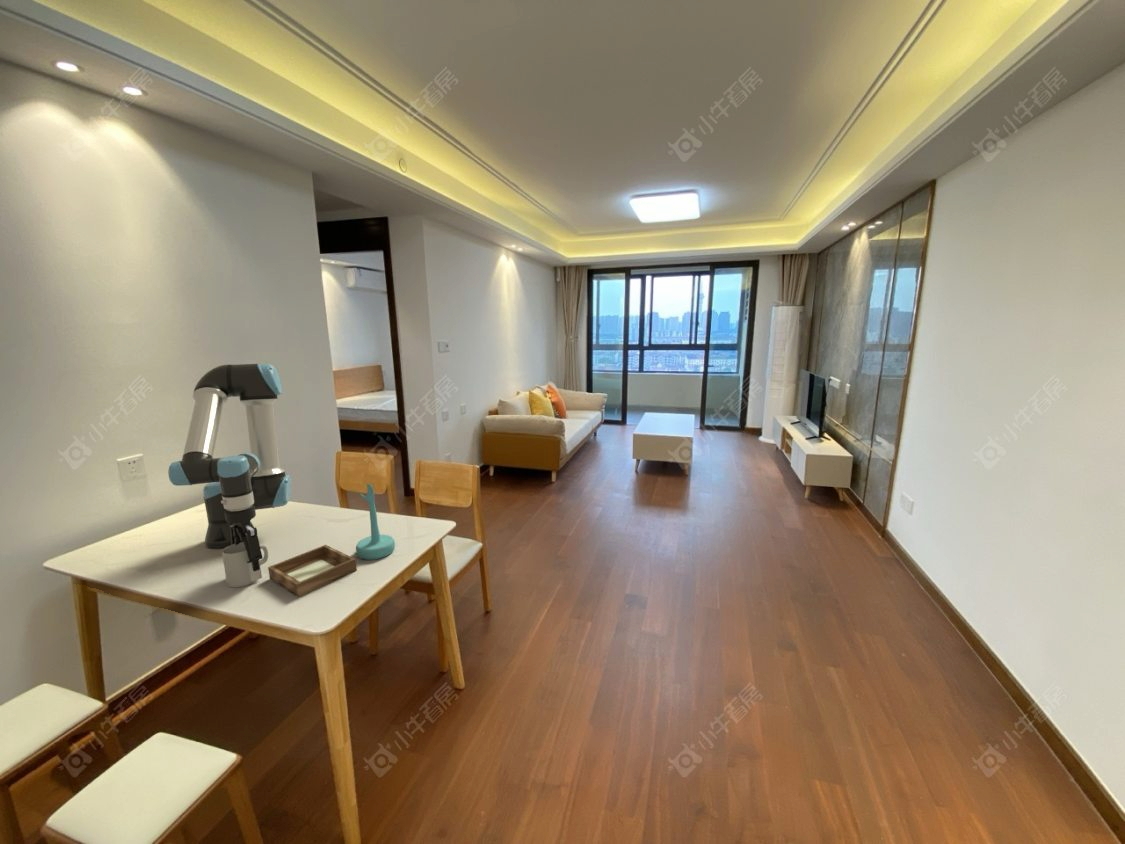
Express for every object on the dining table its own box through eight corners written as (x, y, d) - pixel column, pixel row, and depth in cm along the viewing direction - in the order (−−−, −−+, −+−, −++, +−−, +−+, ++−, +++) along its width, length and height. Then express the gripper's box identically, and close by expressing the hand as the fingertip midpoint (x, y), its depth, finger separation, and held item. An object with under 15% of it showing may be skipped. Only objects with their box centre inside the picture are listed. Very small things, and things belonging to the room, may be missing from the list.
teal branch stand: (377, 541, 164) (371, 476, 159) (402, 547, 159) (397, 481, 154) (348, 556, 153) (341, 487, 148) (374, 564, 148) (368, 492, 143)
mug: (236, 590, 133) (230, 556, 131) (221, 583, 137) (215, 550, 135) (277, 571, 143) (273, 540, 141) (262, 565, 147) (257, 534, 145)
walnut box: (269, 578, 139) (268, 567, 138) (326, 555, 154) (325, 544, 153) (298, 597, 129) (297, 584, 128) (356, 570, 144) (355, 558, 143)
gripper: (210, 503, 138) (221, 570, 142) (240, 518, 126) (251, 591, 131) (238, 496, 144) (248, 560, 148) (269, 510, 133) (279, 579, 137)
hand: (249, 575), depth 140 cm, fingers closed on mug, 8 cm apart
